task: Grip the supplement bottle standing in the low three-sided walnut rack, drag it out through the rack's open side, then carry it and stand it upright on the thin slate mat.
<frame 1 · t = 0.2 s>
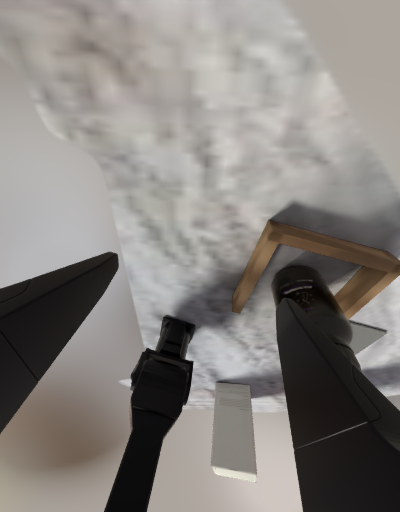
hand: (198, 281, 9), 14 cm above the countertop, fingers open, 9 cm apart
slate mat: (340, 339, 31), on the countertop
walnut rack: (298, 278, 26), on the countertop
supplement box: (233, 389, 49), on the countertop
supplement bottle: (294, 282, 26), on the countertop
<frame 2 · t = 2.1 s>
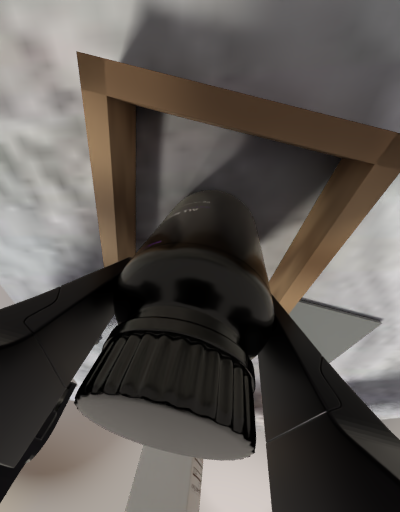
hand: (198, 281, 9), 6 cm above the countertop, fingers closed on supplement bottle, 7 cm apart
slate mat: (307, 334, 19), on the countertop
walnut rack: (213, 220, 14), on the countertop
supplement box: (183, 405, 37), on the countertop
supplement bottle: (211, 230, 15), on the countertop, touching gripper
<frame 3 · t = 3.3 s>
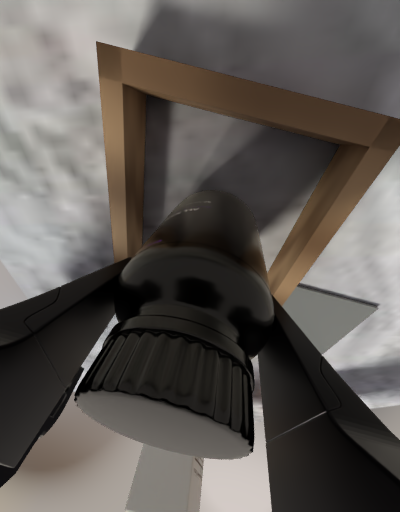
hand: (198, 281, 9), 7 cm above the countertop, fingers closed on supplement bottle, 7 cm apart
slate mat: (306, 321, 20), on the countertop
walnut rack: (218, 207, 15), on the countertop
supplement box: (185, 395, 38), on the countertop
supplement bottle: (212, 230, 15), point 1 cm above the countertop, touching gripper
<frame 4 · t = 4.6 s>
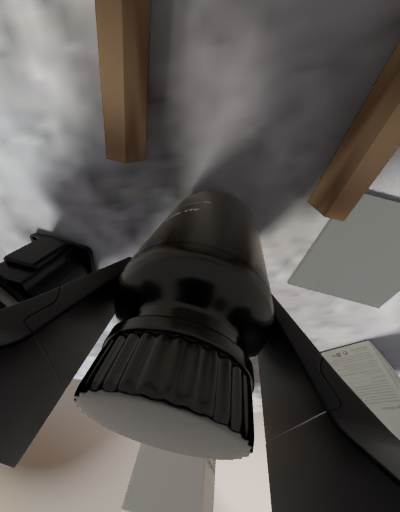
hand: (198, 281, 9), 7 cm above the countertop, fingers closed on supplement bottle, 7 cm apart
slate mat: (365, 257, 15), on the countertop
walnut rack: (265, 43, 9), on the countertop
supplement box: (193, 377, 33), on the countertop
supplement bottle: (212, 231, 15), point 1 cm above the countertop, touching gripper
small box: (352, 360, 23), on the countertop
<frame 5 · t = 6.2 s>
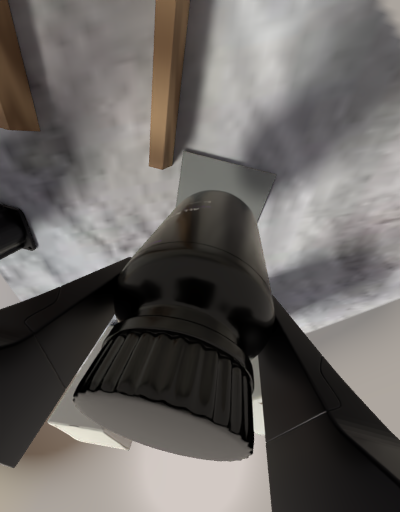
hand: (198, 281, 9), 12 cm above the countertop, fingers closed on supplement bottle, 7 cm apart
slate mat: (217, 207, 20), on the countertop
walnut rack: (90, 44, 14), on the countertop
supplement box: (137, 337, 37), on the countertop
supplement bottle: (212, 231, 15), point 6 cm above the countertop, touching gripper
small box: (250, 308, 28), on the countertop
when the fingers open (7 cm above the countertop, at t = 7.5 s): supplement bottle drops 1 cm, resting on slate mat.
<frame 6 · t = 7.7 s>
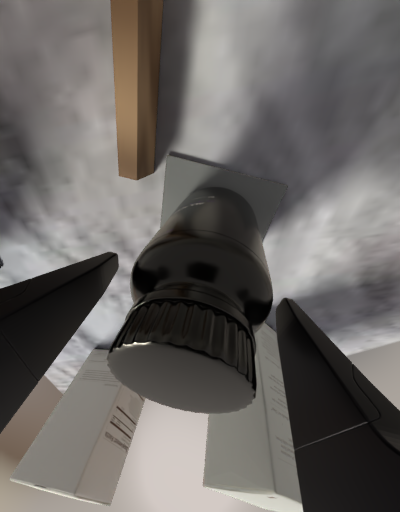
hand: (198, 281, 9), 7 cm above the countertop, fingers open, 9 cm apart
slate mat: (212, 225, 16), on the countertop
walnut rack: (33, 8, 10), on the countertop
supplement box: (125, 361, 33), on the countertop
supplement bottle: (214, 225, 16), resting on slate mat
small box: (252, 336, 24), on the countertop
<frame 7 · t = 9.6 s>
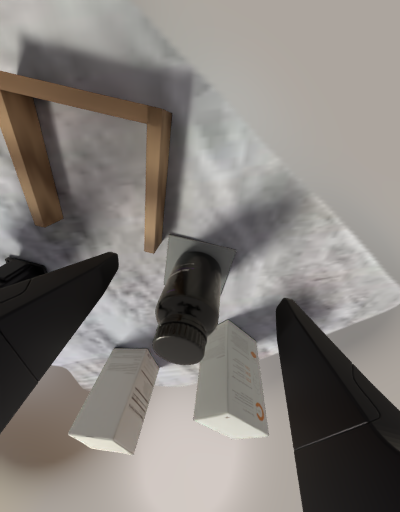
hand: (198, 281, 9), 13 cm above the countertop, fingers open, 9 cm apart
slate mat: (196, 268, 26), on the countertop
walnut rack: (102, 174, 21), on the countertop
supplement box: (137, 357, 44), on the countertop
supplement bottle: (197, 268, 26), resting on slate mat
small box: (229, 335, 34), on the countertop
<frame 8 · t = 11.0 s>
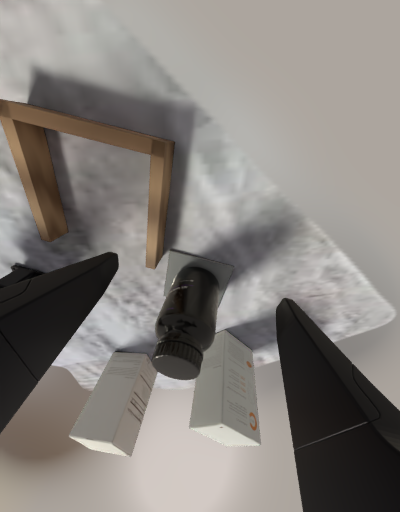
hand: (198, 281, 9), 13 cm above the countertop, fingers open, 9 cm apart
slate mat: (195, 281, 27), on the countertop
walnut rack: (106, 194, 21), on the countertop
supplement box: (137, 361, 45), on the countertop
supplement bottle: (196, 282, 27), resting on slate mat
small box: (226, 344, 35), on the countertop
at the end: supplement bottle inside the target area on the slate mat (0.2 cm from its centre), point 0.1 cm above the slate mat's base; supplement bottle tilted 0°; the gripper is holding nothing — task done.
